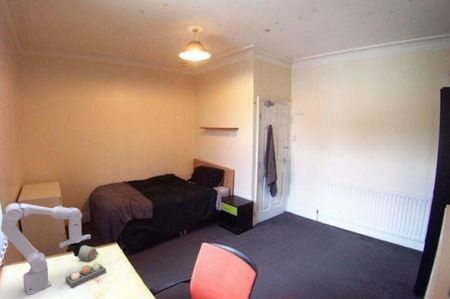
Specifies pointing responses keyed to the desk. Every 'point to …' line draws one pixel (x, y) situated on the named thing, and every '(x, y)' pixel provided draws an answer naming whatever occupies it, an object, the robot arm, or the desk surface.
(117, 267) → the desk surface
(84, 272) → the button terracotta
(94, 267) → the button sage
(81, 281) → the panel
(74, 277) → the button cream
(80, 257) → the ceramic mug
